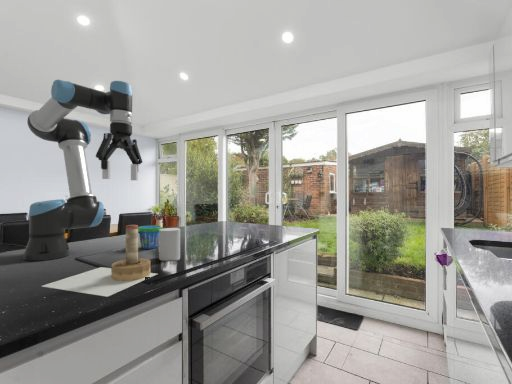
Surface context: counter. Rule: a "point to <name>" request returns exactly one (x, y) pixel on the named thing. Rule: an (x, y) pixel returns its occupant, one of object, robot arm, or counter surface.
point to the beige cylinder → (131, 244)
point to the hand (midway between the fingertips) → (121, 179)
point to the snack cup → (149, 236)
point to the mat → (94, 283)
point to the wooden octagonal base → (130, 270)
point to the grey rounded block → (169, 244)
